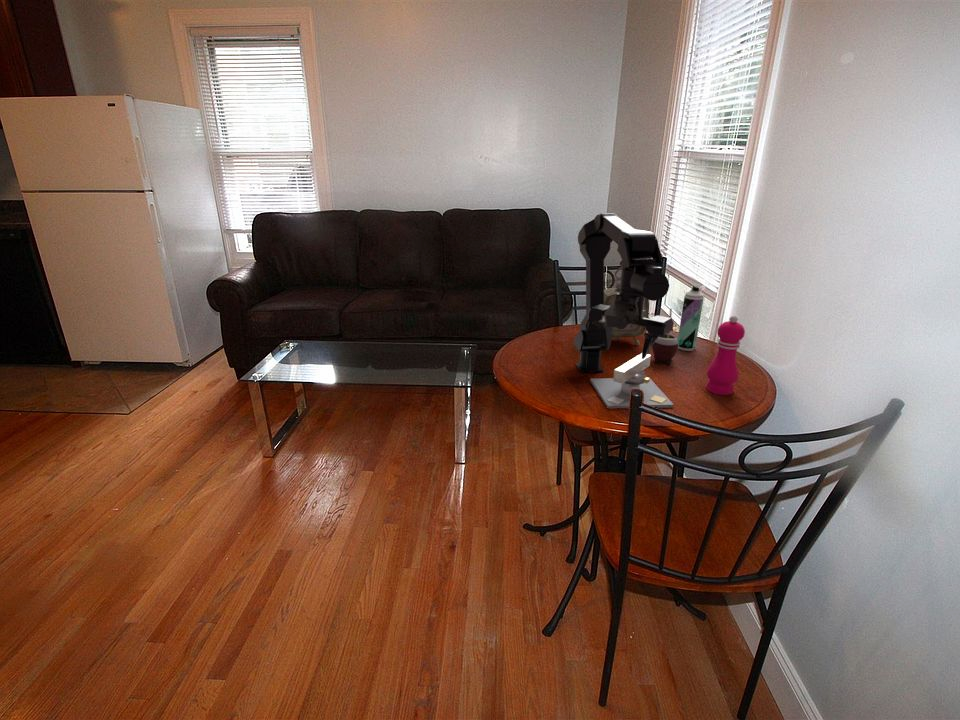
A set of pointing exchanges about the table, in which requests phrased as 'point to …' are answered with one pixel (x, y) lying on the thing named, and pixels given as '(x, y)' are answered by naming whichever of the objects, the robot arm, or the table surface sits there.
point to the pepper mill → (725, 358)
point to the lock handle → (633, 371)
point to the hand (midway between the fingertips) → (625, 353)
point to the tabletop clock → (630, 329)
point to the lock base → (615, 391)
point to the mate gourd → (665, 348)
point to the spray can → (690, 319)
